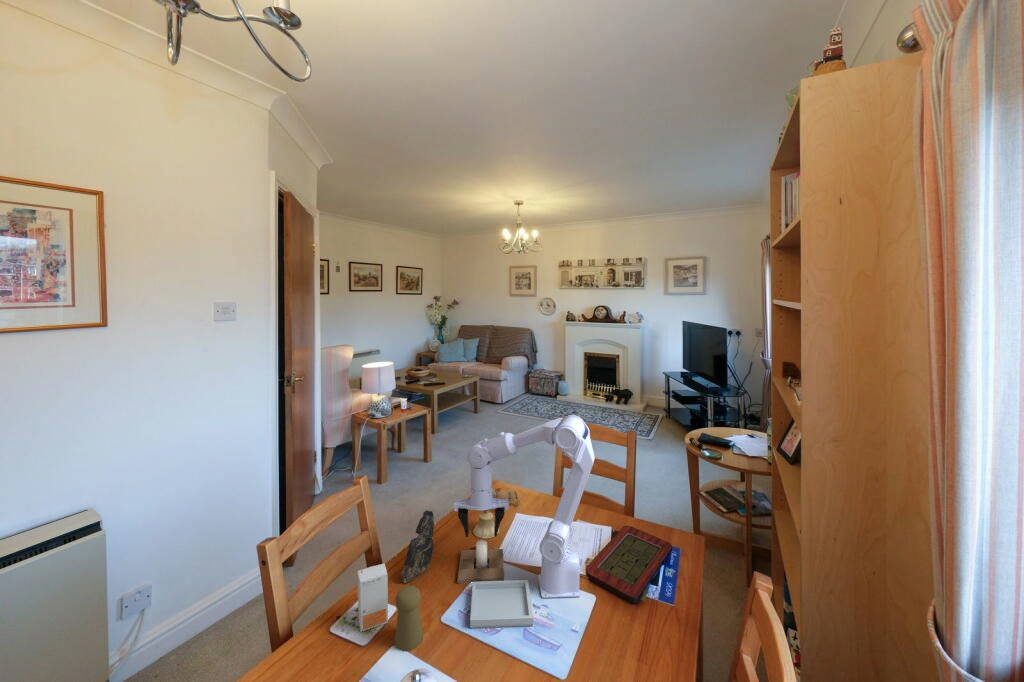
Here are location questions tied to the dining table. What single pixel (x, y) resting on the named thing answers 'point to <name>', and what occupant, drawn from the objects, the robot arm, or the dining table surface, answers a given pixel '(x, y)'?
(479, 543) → the dowel
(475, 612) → the grey tray
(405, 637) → the olive game pawn
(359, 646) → the dining table surface
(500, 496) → the lion figurine
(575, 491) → the robot arm
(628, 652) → the dining table surface
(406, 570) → the statue
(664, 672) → the dining table surface
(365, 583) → the skincare box
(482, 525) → the hand bell
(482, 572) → the brown square board
